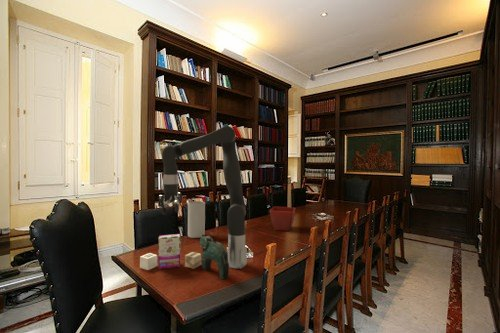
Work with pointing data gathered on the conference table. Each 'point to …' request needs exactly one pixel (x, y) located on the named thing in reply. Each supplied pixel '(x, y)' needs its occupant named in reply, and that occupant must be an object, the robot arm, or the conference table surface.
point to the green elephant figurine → (214, 255)
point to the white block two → (148, 261)
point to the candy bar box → (169, 251)
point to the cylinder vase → (196, 219)
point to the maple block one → (192, 260)
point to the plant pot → (282, 218)
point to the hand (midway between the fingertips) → (170, 213)
